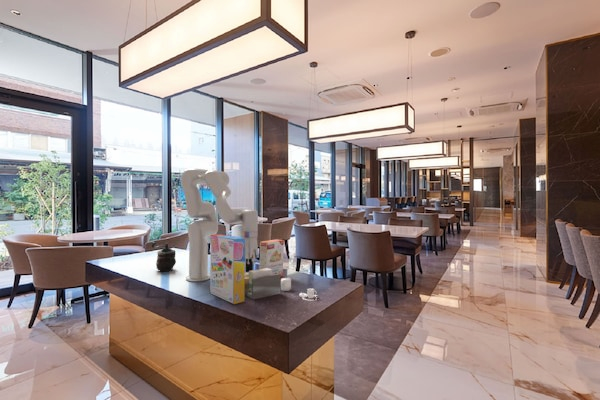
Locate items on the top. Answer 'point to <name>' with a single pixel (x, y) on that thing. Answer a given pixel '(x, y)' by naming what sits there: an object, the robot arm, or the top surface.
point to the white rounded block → (285, 284)
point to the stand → (262, 286)
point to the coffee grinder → (165, 258)
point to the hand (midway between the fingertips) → (249, 271)
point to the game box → (227, 268)
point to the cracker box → (272, 256)
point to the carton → (258, 275)
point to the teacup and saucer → (308, 294)
